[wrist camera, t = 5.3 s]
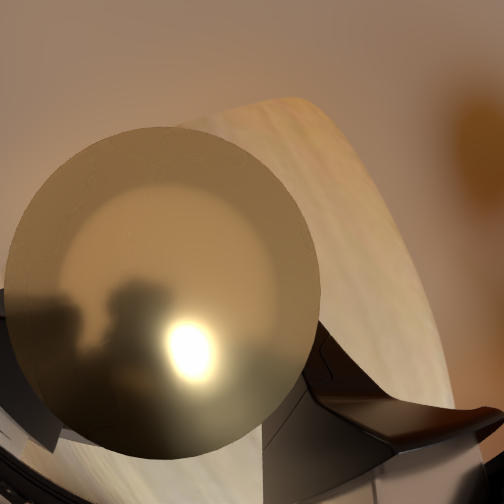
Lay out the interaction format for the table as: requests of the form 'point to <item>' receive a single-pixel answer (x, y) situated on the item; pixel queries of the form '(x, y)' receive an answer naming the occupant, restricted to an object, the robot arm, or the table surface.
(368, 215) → the table surface
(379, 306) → the table surface
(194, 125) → the table surface
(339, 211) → the table surface
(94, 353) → the gold tin can
